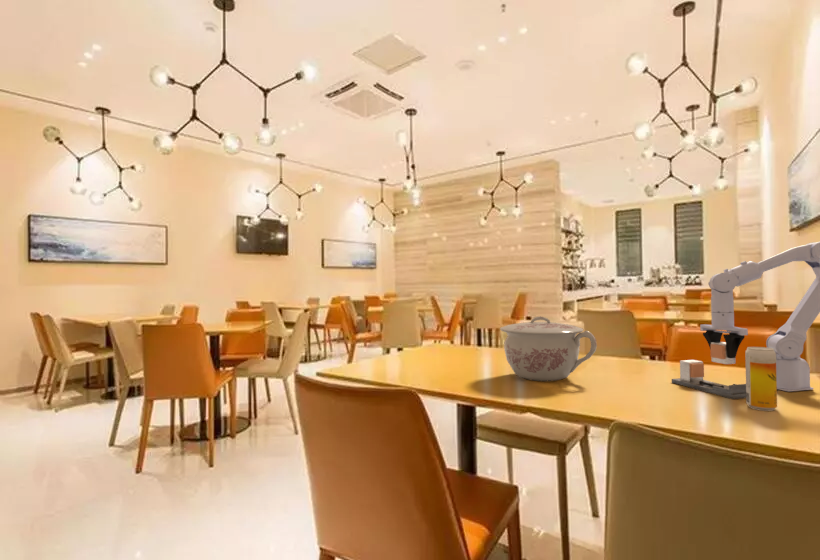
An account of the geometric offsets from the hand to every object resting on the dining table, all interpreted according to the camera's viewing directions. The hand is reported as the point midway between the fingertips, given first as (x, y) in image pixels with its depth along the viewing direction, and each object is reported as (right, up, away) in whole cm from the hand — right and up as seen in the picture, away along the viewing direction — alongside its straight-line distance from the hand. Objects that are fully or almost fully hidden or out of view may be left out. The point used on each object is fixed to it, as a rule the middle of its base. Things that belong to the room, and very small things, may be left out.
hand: (723, 356), depth 139 cm
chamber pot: (-52, -10, +15) cm, 54 cm away
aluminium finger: (0, -2, 0) cm, 2 cm away
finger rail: (-8, -9, -6) cm, 13 cm away
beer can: (-8, -9, -26) cm, 28 cm away
